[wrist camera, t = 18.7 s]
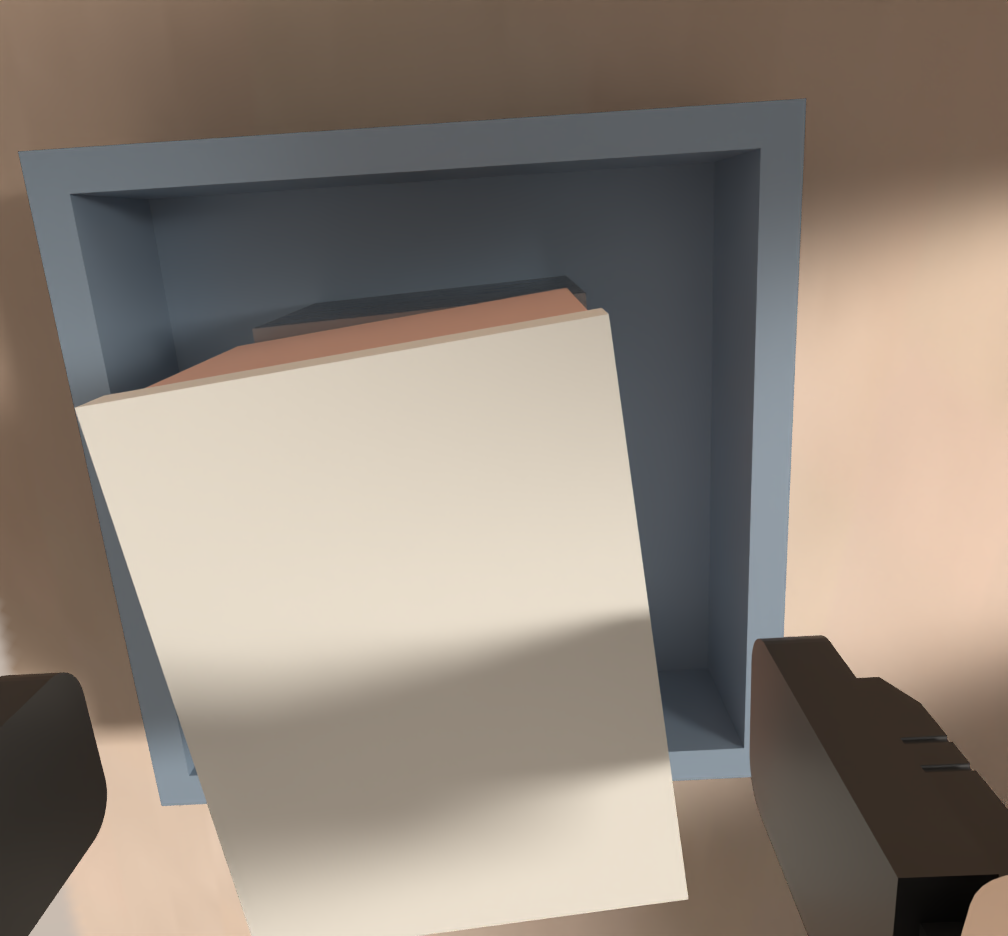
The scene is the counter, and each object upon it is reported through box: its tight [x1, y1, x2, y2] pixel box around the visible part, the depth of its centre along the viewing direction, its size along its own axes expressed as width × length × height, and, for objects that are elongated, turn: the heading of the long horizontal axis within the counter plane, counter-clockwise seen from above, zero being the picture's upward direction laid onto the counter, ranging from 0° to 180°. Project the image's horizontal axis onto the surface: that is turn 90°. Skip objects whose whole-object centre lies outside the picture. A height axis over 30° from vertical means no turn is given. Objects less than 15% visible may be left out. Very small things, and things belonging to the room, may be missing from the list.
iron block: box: [252, 276, 587, 343], centre depth 18 cm, size 6×8×5 cm
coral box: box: [75, 288, 688, 936], centre depth 13 cm, size 6×8×6 cm
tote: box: [18, 98, 806, 806], centre depth 19 cm, size 15×15×4 cm
